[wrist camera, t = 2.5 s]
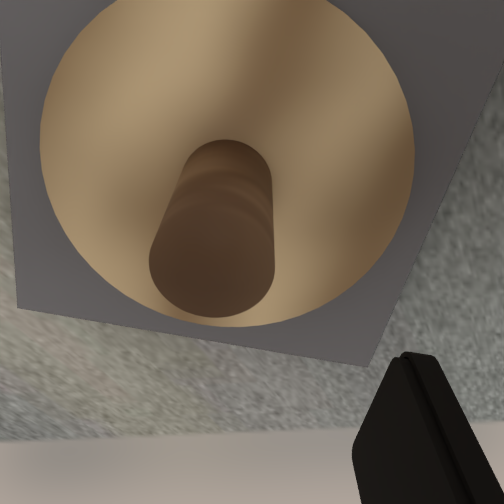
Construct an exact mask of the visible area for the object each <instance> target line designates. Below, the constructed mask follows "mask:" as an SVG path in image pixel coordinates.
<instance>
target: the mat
mask: <svg viewBox="0 0 504 504" xmlns="http://www.w3.org/2000/svg"><path fill="white" fill-rule="evenodd" d="M115 1H117V0H0V50H1V65H2V80H3V96H4V111H5V126H6V141H7V156H8V171H9V187H10V202H11V217H12V232H13V247H14V263H15V278H16V293H17V308H21V309H26V310H32V311H38V312H44V313H50V314H56V315H62V316H68V317H73V318H79V319H85V320H91V321H97V322H103V323H109V324H115V325H121V326H126V327H132V328H138V329H144V330H150V331H156V332H162V333H168V334H173V335H179V336H185V337H191V338H197V339H203V340H209V341H215V342H221V343H226V344H232V345H238V346H244V347H250V348H256V349H262V350H268V351H273V352H279V353H285V354H291V355H297V356H303V357H309V358H315V359H320V360H326V361H332V362H338V363H344V364H350V365H356V366H362V367H368V366H369V363H370V361H371V359H372V357H373V354H374V352H375V350H376V348H377V345H378V343H379V341H380V339H381V337H382V334H383V332H384V330H385V328H386V325H387V323H388V321H389V319H390V316H391V314H392V312H393V310H394V307H395V305H396V303H397V301H398V298H399V296H400V294H401V292H402V289H403V287H404V285H405V283H406V280H407V278H408V276H409V274H410V271H411V269H412V267H413V265H414V263H415V260H416V258H417V256H418V254H419V251H420V249H421V247H422V245H423V242H424V240H425V238H426V236H427V233H428V231H429V229H430V227H431V224H432V222H433V220H434V218H435V215H436V213H437V211H438V209H439V206H440V204H441V202H442V200H443V198H444V195H445V193H446V191H447V189H448V186H449V184H450V182H451V180H452V177H453V175H454V173H455V171H456V168H457V166H458V164H459V162H460V159H461V157H462V155H463V153H464V150H465V148H466V146H467V144H468V141H469V139H470V137H471V135H472V132H473V130H474V128H475V126H476V124H477V121H478V119H479V117H480V115H481V112H482V110H483V108H484V106H485V103H486V101H487V99H488V97H489V94H490V92H491V90H492V88H493V85H494V83H495V81H496V79H497V76H498V74H499V72H500V70H501V67H502V65H503V63H504V0H327V1H328V2H330V3H331V4H332V5H334V6H335V7H337V8H338V9H340V10H341V11H343V12H344V13H345V14H346V15H348V16H349V17H350V18H351V19H352V20H353V21H354V22H355V23H356V24H357V25H358V26H359V27H361V28H362V29H363V30H364V31H365V32H366V33H367V35H368V36H369V37H370V38H371V40H372V41H373V42H374V43H375V45H376V46H377V47H378V48H379V49H380V51H381V52H382V53H383V55H384V56H385V58H386V60H387V62H388V63H389V65H390V67H391V68H392V70H393V72H394V73H395V75H396V77H397V79H398V82H399V84H400V87H401V89H402V91H403V94H404V96H405V99H406V101H407V106H408V110H409V114H410V118H411V122H412V126H413V136H414V146H415V159H414V176H413V181H412V187H411V192H410V197H409V200H408V203H407V206H406V209H405V212H404V215H403V218H402V220H401V222H400V224H399V226H398V229H397V231H396V233H395V235H394V237H393V239H392V240H391V242H390V243H389V245H388V246H387V248H386V249H385V251H384V252H383V254H382V255H381V257H380V258H379V259H378V260H377V261H376V262H375V264H374V265H373V266H372V267H371V268H370V270H369V271H368V272H367V273H366V274H365V275H364V276H362V277H361V278H360V279H359V280H358V281H357V282H356V283H355V284H354V285H353V286H351V287H350V288H349V289H347V290H346V291H345V292H343V293H342V294H340V295H339V296H338V297H336V298H335V299H333V300H331V301H329V302H328V303H326V304H324V305H322V306H321V307H319V308H316V309H314V310H312V311H309V312H307V313H305V314H303V315H300V316H297V317H294V318H290V319H287V320H284V321H281V322H276V323H270V324H265V325H259V326H248V327H219V326H210V325H201V324H197V323H192V322H188V321H183V320H179V319H176V318H173V317H170V316H167V315H164V314H161V313H159V312H157V311H155V310H152V309H150V308H148V307H146V306H144V305H142V304H140V303H138V302H137V301H135V300H133V299H131V298H130V297H128V296H126V295H125V294H123V293H122V292H120V291H119V290H118V289H116V288H115V287H114V286H112V285H111V284H109V283H108V282H107V281H106V280H105V279H104V278H103V277H102V276H100V275H99V274H98V273H97V272H96V271H95V270H94V269H93V268H92V267H91V266H90V265H89V264H88V263H87V261H86V260H85V259H84V258H83V257H82V256H81V255H80V254H79V252H78V251H77V250H76V248H75V247H74V245H73V244H72V242H71V241H70V240H69V238H68V237H67V235H66V234H65V232H64V230H63V228H62V226H61V224H60V222H59V220H58V219H57V217H56V215H55V212H54V210H53V207H52V204H51V202H50V199H49V197H48V194H47V190H46V186H45V182H44V178H43V173H42V167H41V157H40V124H41V118H42V112H43V107H44V101H45V98H46V95H47V92H48V89H49V86H50V83H51V80H52V77H53V75H54V73H55V71H56V69H57V67H58V65H59V63H60V61H61V59H62V58H63V56H64V54H65V52H66V51H67V49H68V48H69V47H70V45H71V44H72V43H73V41H74V40H75V39H76V37H77V36H78V34H79V33H80V32H81V31H82V30H83V29H84V28H85V27H86V26H87V25H88V24H89V23H90V22H91V21H92V20H93V19H94V18H95V17H96V16H97V15H98V14H99V13H100V12H101V11H103V10H104V9H106V8H107V7H108V6H110V5H111V4H113V3H114V2H115Z"/></svg>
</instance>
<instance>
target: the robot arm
mask: <svg viewBox="0 0 504 504" xmlns="http://www.w3.org/2000/svg"><path fill="white" fill-rule="evenodd" d="M352 461H353V466H354V471H355V476H356V480H357V485H358V489H359V494H360V499H361V503H362V504H504V493H503V491H502V489H501V487H500V484H499V482H498V480H497V479H496V477H495V474H494V473H493V470H492V468H491V467H490V465H489V463H488V460H487V458H486V456H485V455H484V452H483V450H482V448H481V446H480V445H479V442H478V441H477V439H476V437H475V434H474V432H473V430H472V429H471V426H470V424H469V422H468V420H467V418H466V416H465V414H464V412H463V410H462V408H461V406H460V404H459V402H458V400H457V398H456V396H455V394H454V392H453V390H452V388H451V386H450V384H449V382H448V380H447V378H446V376H445V374H444V372H443V370H442V368H441V366H440V364H439V362H438V361H437V359H436V358H435V357H434V356H432V355H426V354H420V353H413V352H404V353H402V354H401V356H400V357H394V358H393V359H392V361H391V362H390V365H389V367H388V369H387V371H386V373H385V375H384V378H383V380H382V382H381V384H380V386H379V388H378V391H377V393H376V395H375V397H374V399H373V402H372V404H371V406H370V408H369V410H368V412H367V415H366V417H365V419H364V421H363V423H362V425H361V428H360V430H359V432H358V434H357V436H356V439H355V441H354V443H353V447H352Z"/></svg>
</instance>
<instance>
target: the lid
mask: <svg viewBox="0 0 504 504" xmlns="http://www.w3.org/2000/svg"><path fill="white" fill-rule="evenodd" d="M40 157H41V167H42V173H43V178H44V182H45V186H46V190H47V194H48V197H49V199H50V202H51V204H52V207H53V210H54V212H55V215H56V217H57V219H58V220H59V222H60V224H61V226H62V228H63V230H64V232H65V234H66V235H67V237H68V238H69V240H70V241H71V242H72V244H73V245H74V247H75V248H76V250H77V251H78V252H79V254H80V255H81V256H82V257H83V258H84V259H85V260H86V261H87V263H88V264H89V265H90V266H91V267H92V268H93V269H94V270H95V271H96V272H97V273H98V274H99V275H100V276H102V277H103V278H104V279H105V280H106V281H107V282H108V283H109V284H111V285H112V286H114V287H115V288H116V289H118V290H119V291H120V292H122V293H123V294H125V295H126V296H128V297H130V298H131V299H133V300H135V301H137V302H138V303H140V304H142V305H144V306H146V307H148V308H150V309H152V310H155V311H157V312H159V313H161V314H164V315H167V316H170V317H173V318H176V319H179V320H183V321H188V322H192V323H197V324H201V325H210V326H219V327H248V326H259V325H265V324H270V323H276V322H281V321H284V320H287V319H290V318H294V317H297V316H300V315H303V314H305V313H307V312H309V311H312V310H314V309H316V308H319V307H321V306H322V305H324V304H326V303H328V302H329V301H331V300H333V299H335V298H336V297H338V296H339V295H340V294H342V293H343V292H345V291H346V290H347V289H349V288H350V287H351V286H353V285H354V284H355V283H356V282H357V281H358V280H359V279H360V278H361V277H362V276H364V275H365V274H366V273H367V272H368V271H369V270H370V268H371V267H372V266H373V265H374V264H375V262H376V261H377V260H378V259H379V258H380V257H381V255H382V254H383V252H384V251H385V249H386V248H387V246H388V245H389V243H390V242H391V240H392V239H393V237H394V235H395V233H396V231H397V229H398V226H399V224H400V222H401V220H402V218H403V215H404V212H405V209H406V206H407V203H408V200H409V197H410V192H411V187H412V181H413V176H414V159H415V146H414V136H413V126H412V122H411V118H410V114H409V110H408V106H407V101H406V99H405V96H404V94H403V91H402V89H401V87H400V84H399V82H398V79H397V77H396V75H395V73H394V72H393V70H392V68H391V67H390V65H389V63H388V62H387V60H386V58H385V56H384V55H383V53H382V52H381V51H380V49H379V48H378V47H377V46H376V45H375V43H374V42H373V41H372V40H371V38H370V37H369V36H368V35H367V33H366V32H365V31H364V30H363V29H362V28H361V27H359V26H358V25H357V24H356V23H355V22H354V21H353V20H352V19H351V18H350V17H349V16H348V15H346V14H345V13H344V12H343V11H341V10H340V9H338V8H337V7H335V6H334V5H332V4H331V3H330V2H328V1H327V0H117V1H115V2H114V3H113V4H111V5H110V6H108V7H107V8H106V9H104V10H103V11H101V12H100V13H99V14H98V15H97V16H96V17H95V18H94V19H93V20H92V21H91V22H90V23H89V24H88V25H87V26H86V27H85V28H84V29H83V30H82V31H81V32H80V33H79V34H78V36H77V37H76V39H75V40H74V41H73V43H72V44H71V45H70V47H69V48H68V49H67V51H66V52H65V54H64V56H63V58H62V59H61V61H60V63H59V65H58V67H57V69H56V71H55V73H54V75H53V77H52V80H51V83H50V86H49V89H48V92H47V95H46V98H45V101H44V107H43V112H42V118H41V124H40Z"/></svg>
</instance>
